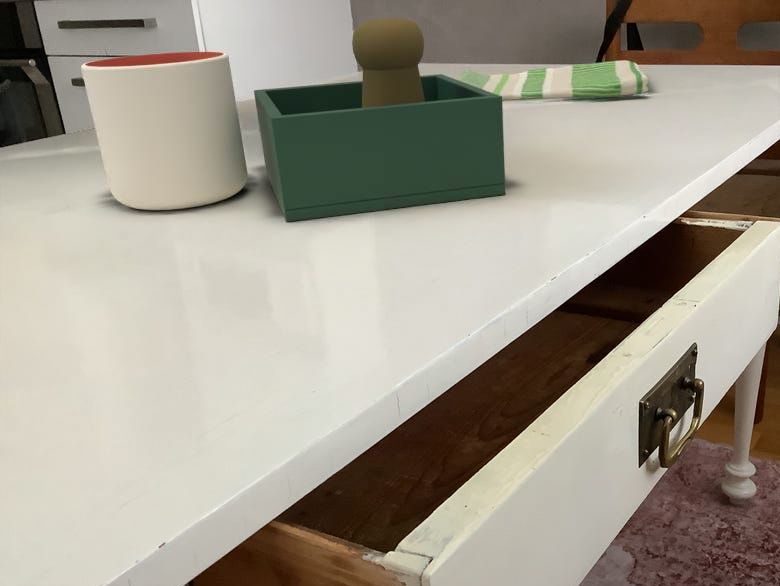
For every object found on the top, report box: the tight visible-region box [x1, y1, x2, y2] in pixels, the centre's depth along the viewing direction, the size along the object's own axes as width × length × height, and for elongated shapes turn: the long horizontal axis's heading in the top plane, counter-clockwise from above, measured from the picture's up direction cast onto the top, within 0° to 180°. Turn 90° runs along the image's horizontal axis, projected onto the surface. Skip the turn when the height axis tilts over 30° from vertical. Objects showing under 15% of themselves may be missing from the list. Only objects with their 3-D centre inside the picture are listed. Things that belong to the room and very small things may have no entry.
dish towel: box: [458, 59, 650, 101], centre depth 105 cm, size 18×23×3 cm
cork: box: [351, 17, 425, 108], centre depth 63 cm, size 6×6×11 cm
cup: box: [80, 51, 248, 211], centre depth 62 cm, size 10×10×10 cm
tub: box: [253, 73, 506, 223], centre depth 64 cm, size 16×16×7 cm
